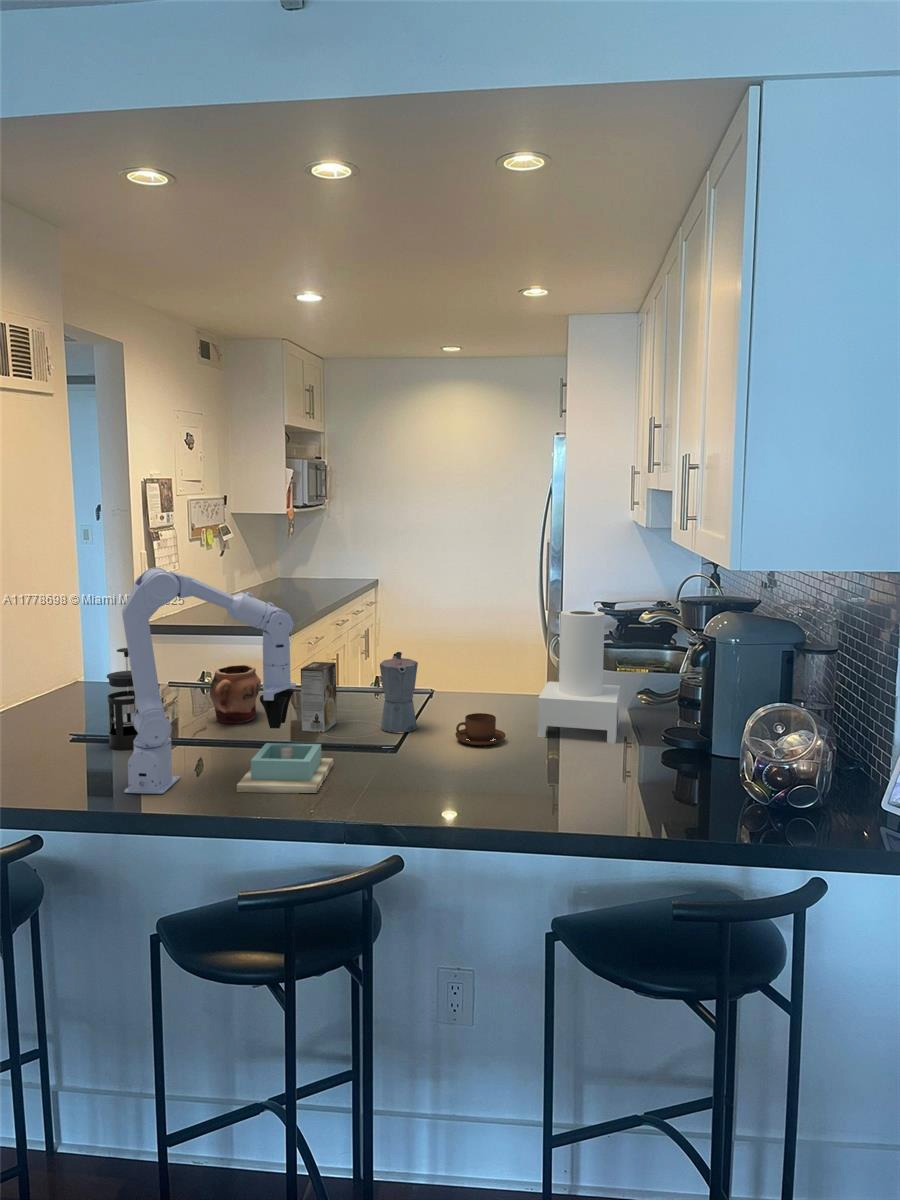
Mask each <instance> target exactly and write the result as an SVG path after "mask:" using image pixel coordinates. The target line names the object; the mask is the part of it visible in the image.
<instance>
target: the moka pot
mask: <svg viewBox="0 0 900 1200" xmlns="http://www.w3.org/2000/svg"><path fill="white" fill-rule="evenodd" d="M402 654H403V653H402V652H401V651H397V652H395V653H394V654H393V656H392V658H390V659H384V660H383V661H381V663H379V668H380V678H381V684H382V692H383V693H384V703H383V710H382V717H381V718H382V719H381V725H380V726H381V730H382V729H383V730H382V731H384V732H385V731H389V732H394V733H393V734H396V732H397V733H398V732H408V733H411V732H414V731H415V730H416V729H417V726H418V725H417V720H416V712H415V705H414V700H413V698H414V691H415V688H416V681H417V680H416V679H417V673H418V666H419V663H418V661H416V660H413V659H410V658H403V657H402Z"/></svg>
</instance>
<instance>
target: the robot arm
mask: <svg viewBox="0 0 900 1200" xmlns="http://www.w3.org/2000/svg"><path fill="white" fill-rule="evenodd" d="M176 597H177V598H178V599H185V598H189V597H194V598H197V599H199V600H202V601H205V602H207V603H210V604H213V605H215V606H217V607H220V608H223V609H225V610H226V611H227V613H228V616H229V617H230V618H231V619H233V620H236V621H238V622H240V623H243V624H245V625H248V626H250V627H253V628H256V629H261V631H262V678H263V679H262V681H263V682H262V683H261V684H262V687H261V688H262V690H263V692H262V694H261V695H260V696H259V702H260V703H261V705H262V707H263V708H264V712H265V713H266V718H267V723H268V726H269V728H270V729H281V726H282V724H285V722H286V720H287V716H288V710H289V705H290V702H291V699H292V696H293V695H294V692H295V689H294V688H296V687H297V683H296V682H291V649H290V648H291V643H290V634H291V632H292V630H293V628H294V621H293V618H292V616H291V615H290V614H289V612H287V611H286V610H284V609H282V608H280V607H277V606H276V605H274V603H272V602H270V601H268V602H265V601H263V600H261V599H258V598H256V597H254V593H250V592H249V591H246V592H245V593H244V592H242V591H241V592H238V593H235V594H229V593H228V592H225V591H223V590H220V589H218V588H216V587H214V586H212V585H210V584H208V583H206V582H203V581H200V580H199V579H196V578H194V577H192V576H190V575H186V574H182V573H179V572H175V571H171V570H170V571H167V570H166V569H164V568H161V567H151V568H148V569H146V570H145V571H144V572H143V573H141V574H140V575H139V576H138V577H137V578H136V579H135V581H134V583H133V587H132V588H131V591H130V593H129V595H128V597H127V599H126V602H125V603H124V606H123V608H122V613H121V615H122V621H123V627H124V628H123V629H124V632H125V640H126V646H127V647H126V648H128V654H129V655H128V659H129V660H128V661H129V666H130V671H131V673H132V680H133V690H134V692H135V707H134V713H135V714H134V717H133V724H132V726H134V728H135V730H136V731H137V732H138V735H137V736H136V738H135V739H134V741H133V743H134V750H133V752H132V754H131V755H130V757H129V758H128V761H127V780H128V781H127V782H128V787H126V788H125V789H124V790H123V792H124V793H125V794H150V795H151V794H160V795H161V794H165V793H166V792H167V791H168V790H169V789H170V788H171V787H172V786H173V785H174V784H175V783H177V782H178V781H179V779H181V777H180V776H179V775H173V759H172V758H173V757H172V755H173V754H172V737H171V735H172V730H173V728H172V724H171V722H170V720H169V719H168V718H167V716H166V714H165V709H164V705H163V702H162V698H161V693H160V686H159V679H158V674H157V673H158V672H157V666H156V665H157V664H156V661H155V653H154V647H153V639H152V634H151V626H150V619H151V618H152V617H153V615H155V613H156V612H157V611H158V610H159V609H160V608H161V607H163V606H165V605H167V604H169V603H170V602H172V601H173V600H174V599H175V598H176Z"/></svg>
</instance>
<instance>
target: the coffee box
mask: <svg viewBox="0 0 900 1200" xmlns="http://www.w3.org/2000/svg"><path fill="white" fill-rule="evenodd" d="M300 699H301V701H300V703H301V707H300V708H301V731H303V732H314V733H316V732H317V731H318V732H317V733H325V732H324V731H326V730H327V731H328V730H329V729H331V728H332V727H333V726H335V724H337V723H338V716H337V715H338V713H337V711H338V710H337V705H338V704H337V702H338V701H337V662H329V661H328V662H326V661H325V662H324V661H313V662H311V663H309V664H307V665H305V666H304V667H302V668H300ZM320 731H322V732H320ZM327 731H326V732H327Z"/></svg>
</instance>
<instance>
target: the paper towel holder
mask: <svg viewBox="0 0 900 1200" xmlns="http://www.w3.org/2000/svg"><path fill="white" fill-rule="evenodd" d="M605 619H606V613H605V612H604V611H603V612H602V611H598V610H592V609H591V610H590V609H567V610H561V611H560V625H559V663H558V664H559V665H558V668H559V669H558V677H559V678H558V681H547V683H546V684H545V686H544V688H543V689H542V691H541V693H540V694H539V696H538V698H537V701H538V703H537V738H538V737H546V736H547V735H546V733H547V731H546V729H547V727H554V728H555V727H556V728H557V727H558V728H570V729H571V728H572V729H582V730H583V729H585V730H586V729H587V730H597V731H598V730H600V731H607V732H606V733H607V735H606V744H607V743H608V744H616V741H617V732H618V726H619V724H620V704H621V702H620V700H621V685H618V684H617V685H616V684H615V685H614V684H612V685H611V684H604V653H605V622H606V621H605Z"/></svg>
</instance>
